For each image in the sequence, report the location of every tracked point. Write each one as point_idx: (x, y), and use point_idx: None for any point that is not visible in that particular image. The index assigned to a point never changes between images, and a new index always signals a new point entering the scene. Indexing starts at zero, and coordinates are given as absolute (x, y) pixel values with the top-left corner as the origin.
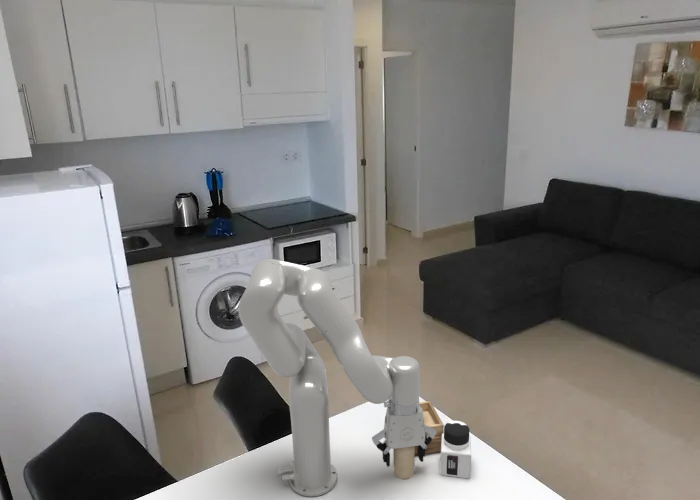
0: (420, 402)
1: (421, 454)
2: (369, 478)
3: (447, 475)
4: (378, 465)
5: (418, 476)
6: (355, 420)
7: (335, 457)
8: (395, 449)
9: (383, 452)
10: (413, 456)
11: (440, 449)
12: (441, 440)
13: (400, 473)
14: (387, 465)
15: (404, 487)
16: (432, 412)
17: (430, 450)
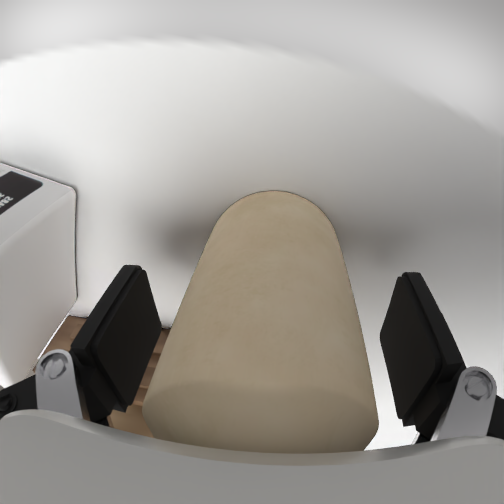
0: None
1: (109, 313)
2: (465, 244)
3: (47, 179)
4: None
5: (192, 198)
6: None
7: (491, 360)
8: (377, 414)
9: (495, 382)
10: (181, 311)
11: (76, 328)
12: (3, 361)
13: (316, 219)
14: (423, 279)
15: (309, 121)
16: None
17: None
